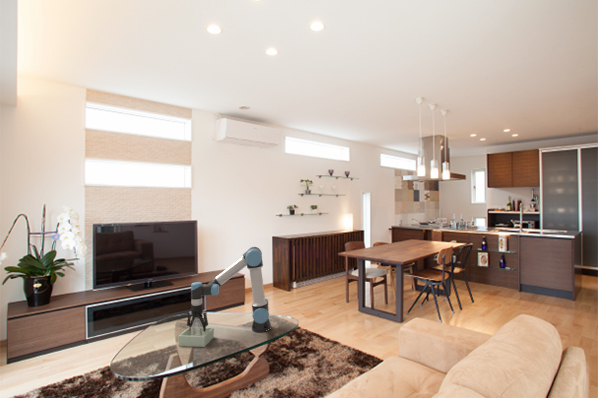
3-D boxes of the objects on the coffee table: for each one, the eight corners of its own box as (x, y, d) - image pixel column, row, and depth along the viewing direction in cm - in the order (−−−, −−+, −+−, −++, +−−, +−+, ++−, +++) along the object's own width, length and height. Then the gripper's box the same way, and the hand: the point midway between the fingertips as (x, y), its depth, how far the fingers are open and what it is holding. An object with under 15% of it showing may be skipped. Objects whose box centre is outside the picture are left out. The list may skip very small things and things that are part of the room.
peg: (198, 341, 239) (198, 324, 239) (194, 341, 239) (194, 324, 239) (200, 339, 242) (200, 323, 242) (196, 339, 242) (196, 322, 242)
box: (213, 337, 245) (213, 327, 245) (204, 346, 229) (204, 336, 229) (189, 336, 248) (189, 326, 248) (178, 345, 232) (178, 335, 232)
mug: (193, 335, 250) (193, 320, 250) (190, 331, 257) (189, 317, 257) (209, 330, 258) (208, 316, 258) (205, 327, 264) (204, 313, 264)
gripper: (212, 302, 243) (213, 333, 243) (186, 302, 246) (186, 332, 246) (208, 306, 235) (209, 338, 235) (180, 305, 238) (181, 337, 238)
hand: (197, 335), depth 240 cm, fingers open, 8 cm apart
